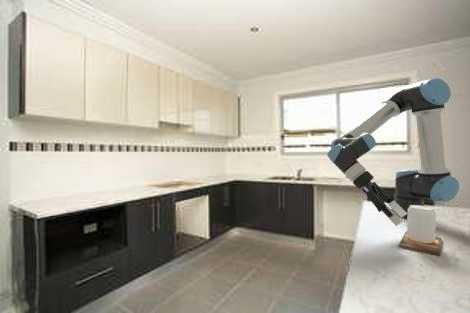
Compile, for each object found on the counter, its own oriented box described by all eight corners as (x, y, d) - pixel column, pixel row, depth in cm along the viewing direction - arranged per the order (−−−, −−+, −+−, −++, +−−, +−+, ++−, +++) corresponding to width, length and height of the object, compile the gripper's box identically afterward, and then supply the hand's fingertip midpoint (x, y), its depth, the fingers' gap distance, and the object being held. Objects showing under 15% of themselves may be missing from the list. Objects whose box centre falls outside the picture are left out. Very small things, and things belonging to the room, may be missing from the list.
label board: (405, 233, 100) (405, 231, 100) (441, 240, 93) (441, 237, 93) (399, 247, 86) (399, 244, 86) (440, 256, 79) (440, 252, 79)
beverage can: (440, 245, 85) (441, 210, 85) (413, 243, 87) (414, 209, 86) (427, 237, 93) (427, 205, 93) (402, 235, 95) (403, 204, 94)
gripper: (359, 179, 113) (397, 218, 104) (342, 185, 94) (387, 233, 85) (373, 168, 110) (413, 207, 101) (358, 172, 91) (407, 221, 82)
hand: (402, 219), depth 93 cm, fingers open, 13 cm apart
